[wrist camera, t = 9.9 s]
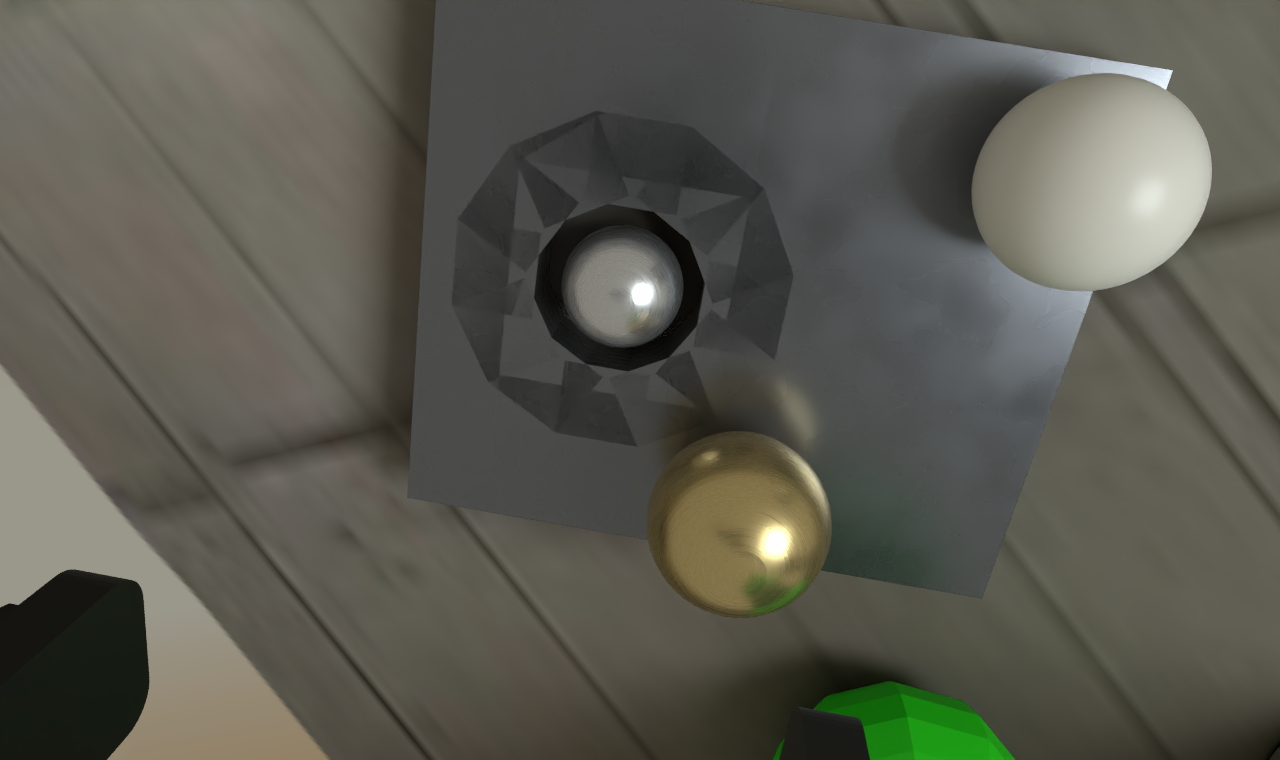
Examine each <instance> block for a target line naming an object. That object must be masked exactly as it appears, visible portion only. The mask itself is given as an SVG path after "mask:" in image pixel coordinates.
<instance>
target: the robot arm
mask: <svg viewBox="0 0 1280 760" xmlns="http://www.w3.org/2000/svg"><path fill="white" fill-rule="evenodd" d="M148 689H149V667H148V655H147V640H146V627H145V614H144V600H143V593H142V590H141V587H140V586H139V584H138V583H137V582H135V581H132V580H128V579H122V578H117V577H111V576H107V575H101V574H96V573H90V572H85V571H80V570H67V571H64V572H62V573H60V574H58V575H57V576H55V577H54V578H53V579H52V580H50V581H49V582H48V583H46V584H45V585H44V586H42V587H41V588H40V589H39V590H37V591H36V592H35V593H34V594H32V595H31V596H30V597H28V598H27V599H26V600H25V601H23V602H22V603H21V604H19V605H15V604H7V605H5V606H3V607H1V608H0V760H107V759H108V758H109V756H110V755H111V754H112V753H113V752H114V751H115V750H116V748H117V747H118V746H119V745H120V744H121V743H122V742H123V740H124V739H125V738H126V737H127V736H128V734H129V733H130V732H131V730H132V729H133V727H134V726H135V724H136V722H137V721H138V719H139V717H140V715H141V713H142V710H143V708H144V705H145V702H146V699H147V695H148ZM779 760H870V757H869V752H868V747H867V742H866V737H865V732H864V728H863V725H862V722H861V720H860V719H859V718H857V717H852V716H846V715H841V714H835V713H830V712H825V711H819V710H814V709H809V708H803V707H796V708H795V709H794V711H793V713H792V715H791V718H790V721H789V725H788V728H787V732H786V736H785V739H784V743H783V747H782V750H781V754H780V757H779ZM1270 760H1280V747H1279V748H1278V749H1277V750H1276V751H1275V753H1274V754H1273V755H1272V757H1271V758H1270Z"/></svg>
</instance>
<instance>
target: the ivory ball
mask: <svg viewBox="0 0 1280 760" xmlns="http://www.w3.org/2000/svg"><path fill="white" fill-rule="evenodd" d="M1211 177H1212V165H1211V154H1210V150H1209V146H1208V142H1207V139H1206V137H1205V134H1204V132H1203V130H1202V128H1201V126H1200V125H1199V123H1198V121H1197V120H1196V118H1195V117H1194V115H1193V114H1192V112H1191V111H1190V110H1189V109H1188V108H1187V107H1186V105H1185V104H1184V103H1183V102H1181V101H1180V100H1179V99H1178V98H1177V97H1175V96H1174V95H1173V94H1171V93H1170V92H1168V91H1167V90H1165V89H1163V88H1162V87H1160V86H1158V85H1157V84H1154V83H1152V82H1149V81H1147V80H1144V79H1141V78H1137V77H1132V76H1128V75H1124V74H1115V73H1094V74H1085V75H1079V76H1073V77H1069V78H1066V79H1063V80H1060V81H1057V82H1054V83H1052V84H1050V85H1048V86H1045V87H1043V88H1041V89H1039V90H1037V91H1036V92H1034V93H1032V94H1031V95H1029V96H1027V97H1026V98H1024V99H1023V100H1022V101H1020V102H1019V103H1018V104H1016V105H1015V106H1014V107H1013V108H1012V109H1011V110H1010V111H1009V112H1008V113H1007V114H1006V115H1005V116H1004V117H1003V118H1002V119H1001V120H1000V121H999V123H998V124H997V125H996V126H995V127H994V129H993V130H992V132H991V133H990V135H989V136H988V138H987V140H986V142H985V144H984V146H983V148H982V149H981V151H980V154H979V157H978V160H977V162H976V165H975V170H974V174H973V180H972V191H971V192H972V207H973V212H974V217H975V220H976V223H977V226H978V229H979V232H980V234H981V236H982V238H983V239H984V241H985V243H986V245H987V246H988V247H989V249H990V250H991V251H992V253H993V254H994V255H995V256H996V257H997V258H998V259H999V260H1000V261H1001V262H1002V263H1003V264H1004V265H1005V266H1006V267H1007V268H1009V269H1010V270H1011V271H1013V272H1014V273H1016V274H1018V275H1019V276H1021V277H1023V278H1025V279H1027V280H1029V281H1031V282H1033V283H1036V284H1038V285H1041V286H1044V287H1048V288H1053V289H1057V290H1065V291H1093V290H1101V289H1107V288H1111V287H1115V286H1119V285H1122V284H1125V283H1128V282H1130V281H1133V280H1135V279H1137V278H1139V277H1141V276H1143V275H1145V274H1147V273H1149V272H1150V271H1152V270H1153V269H1155V268H1156V267H1158V266H1159V265H1161V264H1162V263H1164V262H1165V261H1166V260H1167V259H1168V258H1170V257H1171V256H1172V255H1173V254H1174V253H1175V252H1176V251H1177V250H1178V249H1179V248H1180V247H1181V246H1182V245H1183V244H1184V243H1185V241H1186V240H1187V239H1188V238H1189V236H1190V235H1191V234H1192V232H1193V230H1194V229H1195V227H1196V226H1197V224H1198V222H1199V220H1200V218H1201V216H1202V214H1203V212H1204V210H1205V206H1206V203H1207V200H1208V197H1209V192H1210V187H1211Z"/></svg>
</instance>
